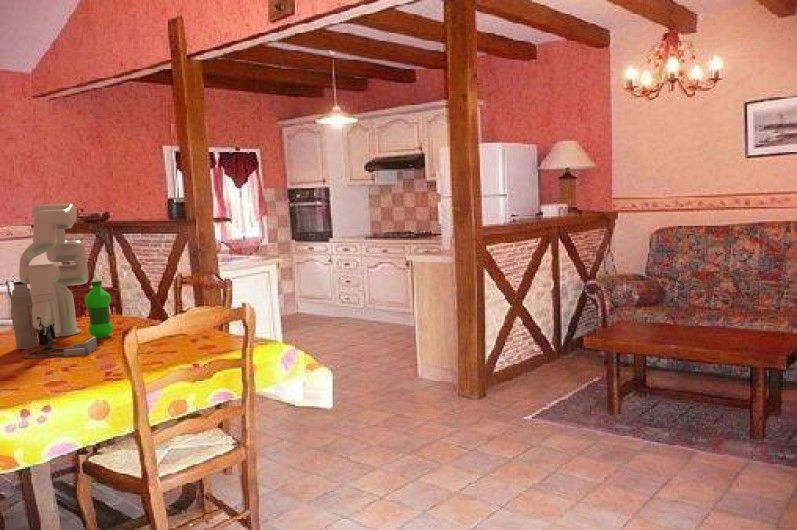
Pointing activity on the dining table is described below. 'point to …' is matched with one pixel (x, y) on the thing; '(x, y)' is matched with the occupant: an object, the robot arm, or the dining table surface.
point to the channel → (31, 354)
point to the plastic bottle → (99, 310)
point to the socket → (82, 348)
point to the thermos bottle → (23, 317)
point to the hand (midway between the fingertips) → (47, 342)
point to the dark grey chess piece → (50, 341)
